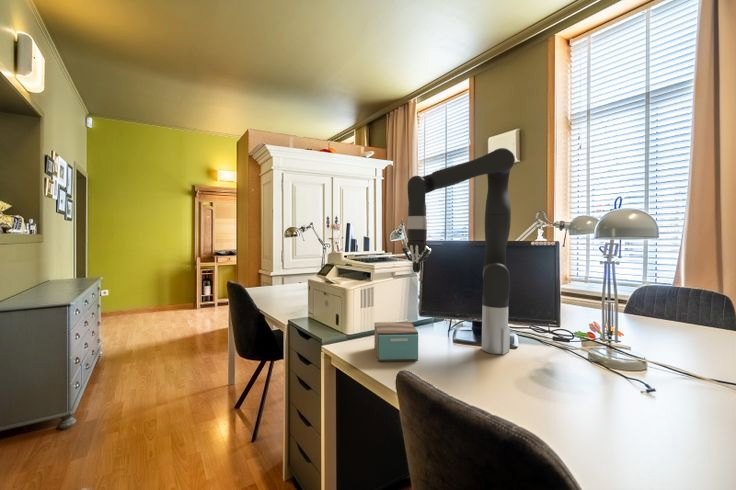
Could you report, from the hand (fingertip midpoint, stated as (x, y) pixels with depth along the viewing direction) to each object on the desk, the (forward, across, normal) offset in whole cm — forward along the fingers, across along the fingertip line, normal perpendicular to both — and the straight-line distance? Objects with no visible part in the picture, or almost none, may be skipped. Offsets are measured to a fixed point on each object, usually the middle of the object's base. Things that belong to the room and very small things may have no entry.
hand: (416, 272), depth 141 cm
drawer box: (+29, 0, -14) cm, 32 cm away
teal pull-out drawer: (+28, +1, -15) cm, 32 cm away
